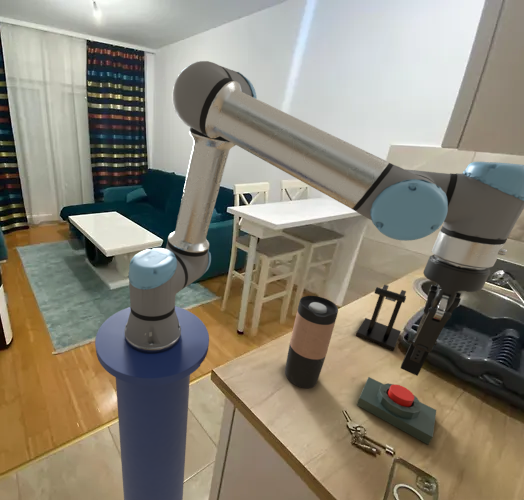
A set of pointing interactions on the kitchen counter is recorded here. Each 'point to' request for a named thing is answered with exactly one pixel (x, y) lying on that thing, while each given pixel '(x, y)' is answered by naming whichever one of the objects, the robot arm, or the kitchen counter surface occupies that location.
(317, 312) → the travel mug
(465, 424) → the kitchen counter surface
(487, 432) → the kitchen counter surface
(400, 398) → the button
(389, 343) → the bracket
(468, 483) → the kitchen counter surface
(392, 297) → the lever
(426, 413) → the button box
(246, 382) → the kitchen counter surface
